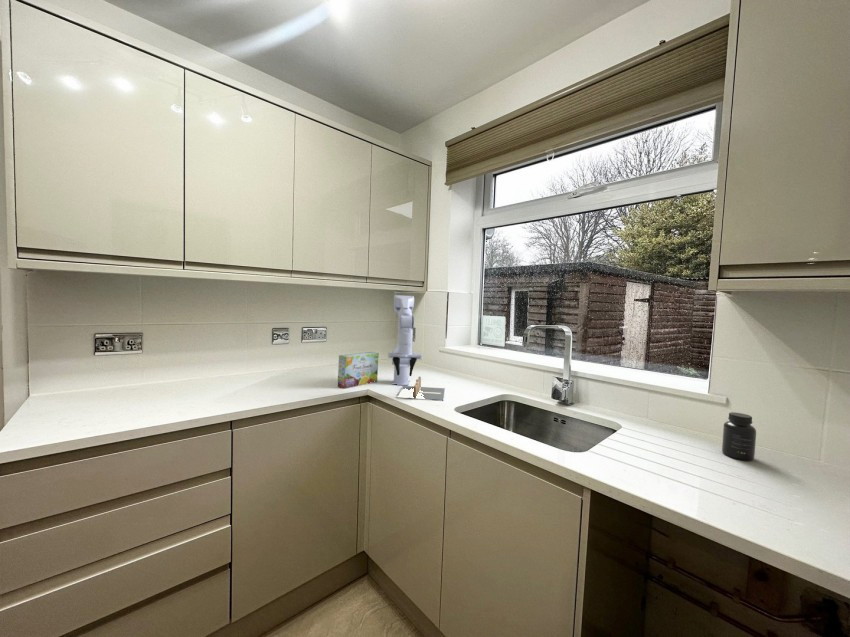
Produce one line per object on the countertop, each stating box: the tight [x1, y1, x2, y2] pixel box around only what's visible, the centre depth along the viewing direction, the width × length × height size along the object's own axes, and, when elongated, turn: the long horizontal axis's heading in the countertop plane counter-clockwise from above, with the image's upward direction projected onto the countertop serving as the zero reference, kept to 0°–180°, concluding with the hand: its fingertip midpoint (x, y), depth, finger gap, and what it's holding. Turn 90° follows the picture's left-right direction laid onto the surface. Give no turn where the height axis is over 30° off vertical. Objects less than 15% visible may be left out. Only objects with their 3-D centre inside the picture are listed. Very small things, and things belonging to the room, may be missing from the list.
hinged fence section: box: [413, 381, 419, 398], centre depth 146 cm, size 10×1×4 cm, turn 175°
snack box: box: [337, 351, 380, 389], centre depth 164 cm, size 21×6×15 cm, turn 143°
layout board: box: [402, 376, 445, 402], centre depth 152 cm, size 20×20×6 cm
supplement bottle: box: [721, 411, 757, 462], centre depth 96 cm, size 7×7×12 cm
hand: (404, 375), depth 144 cm, fingers open, 5 cm apart
